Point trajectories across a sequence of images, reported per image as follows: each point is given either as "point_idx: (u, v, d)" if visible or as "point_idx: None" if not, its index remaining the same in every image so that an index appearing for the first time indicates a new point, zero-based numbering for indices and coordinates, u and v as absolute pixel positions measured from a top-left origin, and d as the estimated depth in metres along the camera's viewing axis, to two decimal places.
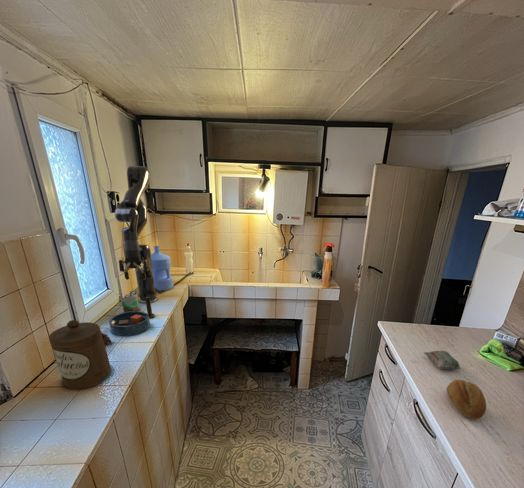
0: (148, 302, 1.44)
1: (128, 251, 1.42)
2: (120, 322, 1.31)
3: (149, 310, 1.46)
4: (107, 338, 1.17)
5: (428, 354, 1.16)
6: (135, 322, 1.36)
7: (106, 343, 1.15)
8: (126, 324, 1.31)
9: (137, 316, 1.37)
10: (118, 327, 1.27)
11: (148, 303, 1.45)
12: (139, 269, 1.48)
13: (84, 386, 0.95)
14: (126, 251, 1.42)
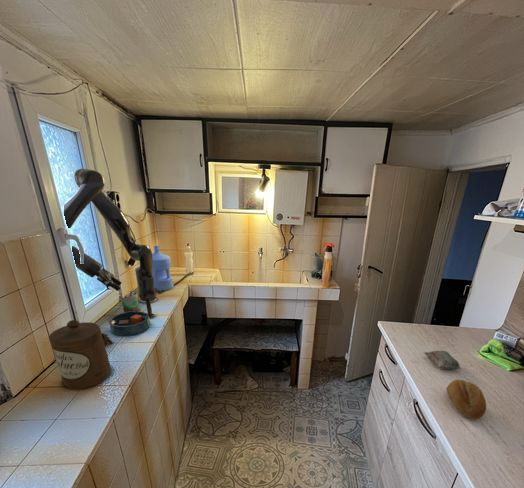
0: (148, 302, 1.44)
1: None
2: (120, 322, 1.31)
3: (149, 310, 1.46)
4: (107, 338, 1.17)
5: (428, 354, 1.16)
6: (135, 322, 1.36)
7: (106, 343, 1.15)
8: (126, 324, 1.31)
9: (137, 316, 1.37)
10: (118, 327, 1.27)
11: (148, 303, 1.45)
12: None
13: (84, 386, 0.95)
14: None
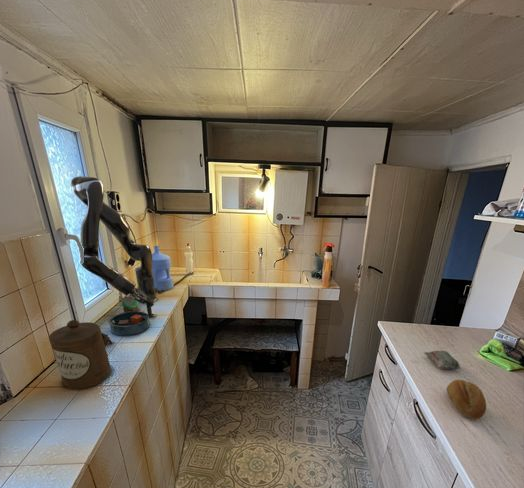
0: None
1: None
2: (120, 322, 1.31)
3: (149, 310, 1.46)
4: (107, 338, 1.17)
5: (428, 354, 1.16)
6: (135, 322, 1.36)
7: (106, 343, 1.15)
8: (126, 324, 1.31)
9: (137, 316, 1.37)
10: (118, 327, 1.27)
11: None
12: None
13: (84, 386, 0.95)
14: None
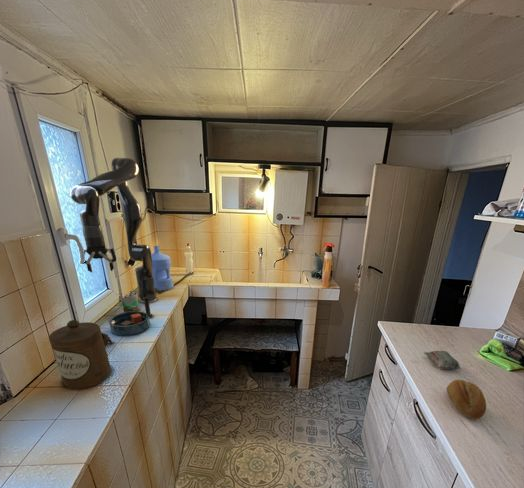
0: (146, 302, 1.44)
1: (92, 239, 1.22)
2: (123, 322, 1.31)
3: (147, 310, 1.46)
4: (107, 338, 1.17)
5: (428, 354, 1.16)
6: (133, 321, 1.38)
7: (106, 343, 1.15)
8: None
9: (136, 315, 1.38)
10: (118, 327, 1.27)
11: (146, 303, 1.44)
12: (106, 259, 1.29)
13: (84, 386, 0.95)
14: (90, 239, 1.22)
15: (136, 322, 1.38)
